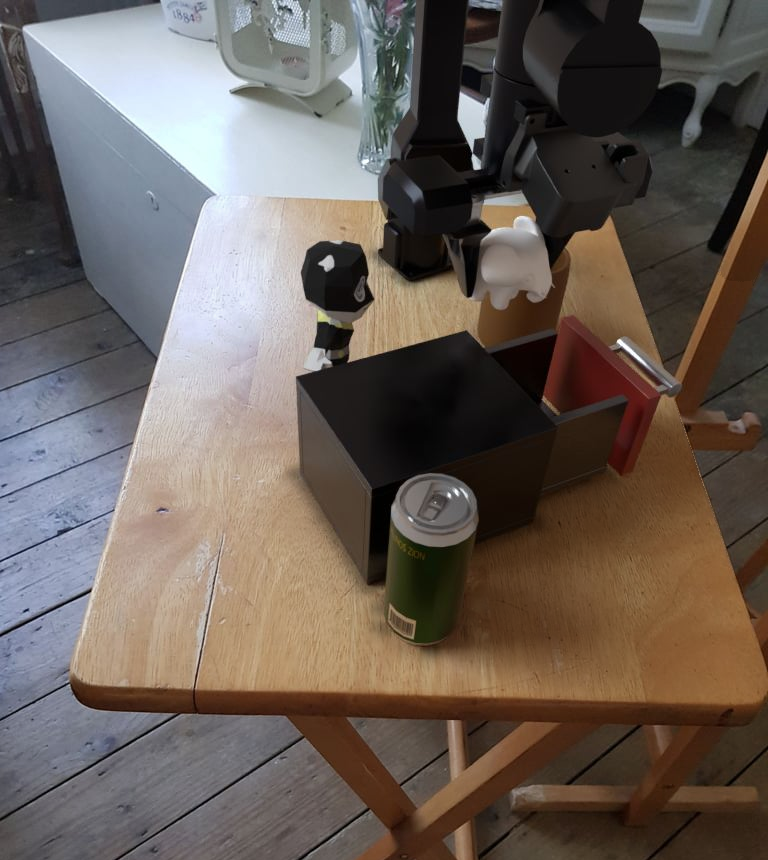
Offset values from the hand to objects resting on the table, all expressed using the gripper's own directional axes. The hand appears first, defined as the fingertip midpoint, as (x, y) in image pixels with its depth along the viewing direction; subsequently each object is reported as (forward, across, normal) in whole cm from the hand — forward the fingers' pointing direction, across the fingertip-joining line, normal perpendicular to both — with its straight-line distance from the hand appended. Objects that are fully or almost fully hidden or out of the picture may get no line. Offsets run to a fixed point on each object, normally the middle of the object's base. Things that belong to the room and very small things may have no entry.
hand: (502, 287), depth 63 cm
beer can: (+14, -14, -18) cm, 26 cm away
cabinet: (+13, -10, -7) cm, 18 cm away
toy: (+13, -11, +7) cm, 19 cm away
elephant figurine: (+1, 0, 0) cm, 1 cm away
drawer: (+12, +3, -6) cm, 14 cm away
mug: (+13, +10, +11) cm, 20 cm away
